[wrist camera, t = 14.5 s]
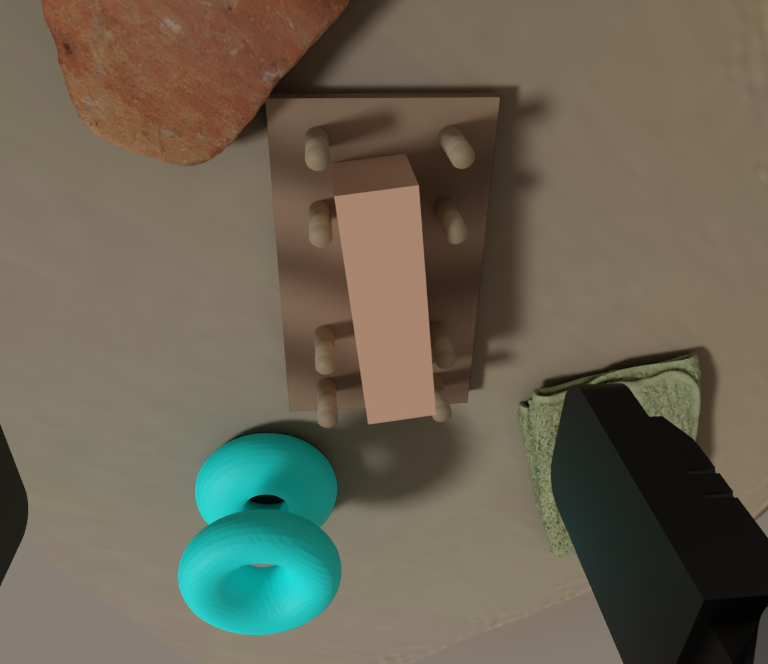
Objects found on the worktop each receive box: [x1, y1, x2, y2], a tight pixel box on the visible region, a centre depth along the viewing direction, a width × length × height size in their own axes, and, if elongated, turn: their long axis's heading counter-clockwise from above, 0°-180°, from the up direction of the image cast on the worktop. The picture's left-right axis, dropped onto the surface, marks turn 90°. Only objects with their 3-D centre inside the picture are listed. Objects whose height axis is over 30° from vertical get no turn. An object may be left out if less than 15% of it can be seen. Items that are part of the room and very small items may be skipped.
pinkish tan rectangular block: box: [331, 154, 436, 424], centre depth 36 cm, size 14×4×5 cm, turn 6°
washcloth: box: [518, 352, 702, 557], centre depth 49 cm, size 13×18×3 cm
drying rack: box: [266, 92, 500, 428], centre depth 37 cm, size 20×12×5 cm, turn 179°
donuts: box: [178, 433, 341, 635], centre depth 43 cm, size 10×10×10 cm
